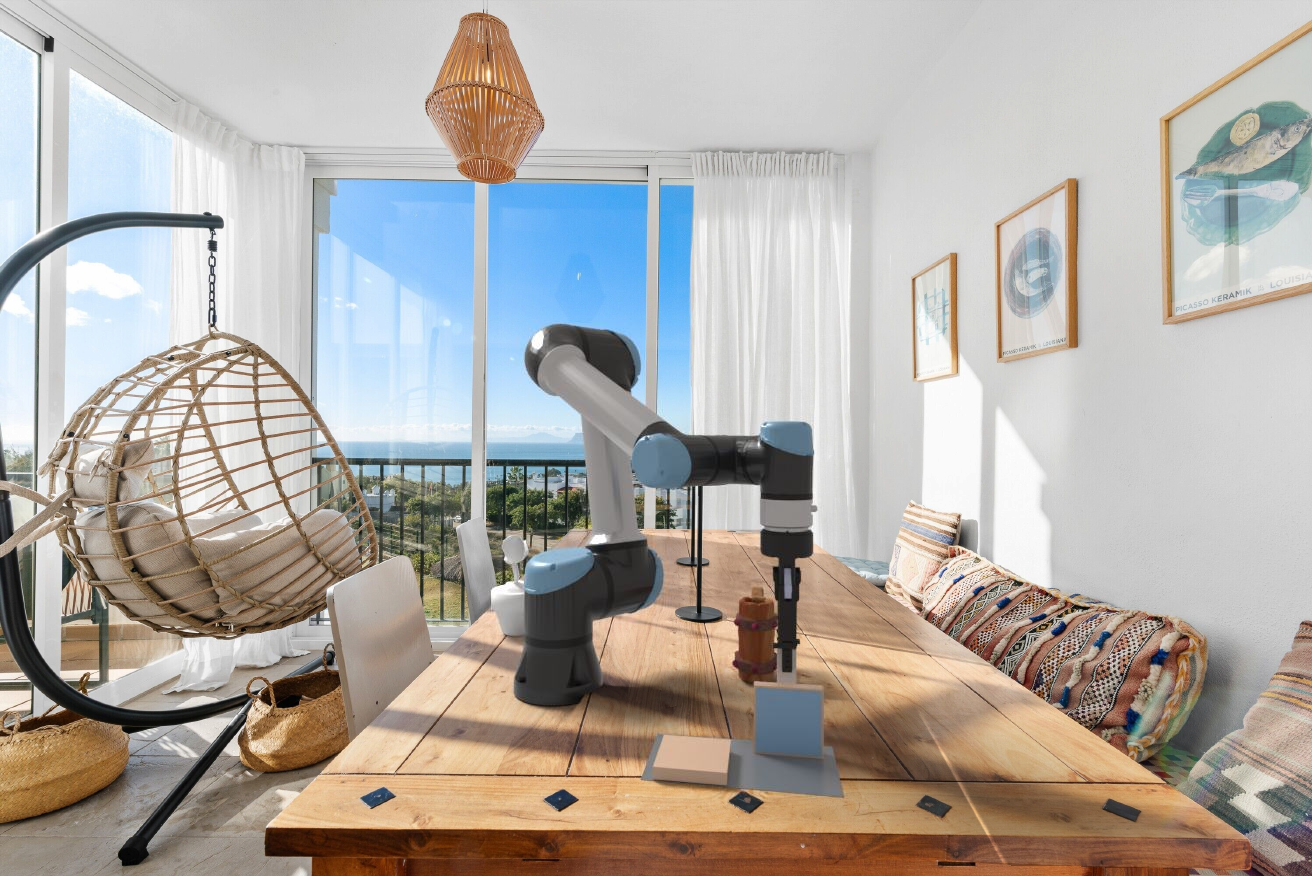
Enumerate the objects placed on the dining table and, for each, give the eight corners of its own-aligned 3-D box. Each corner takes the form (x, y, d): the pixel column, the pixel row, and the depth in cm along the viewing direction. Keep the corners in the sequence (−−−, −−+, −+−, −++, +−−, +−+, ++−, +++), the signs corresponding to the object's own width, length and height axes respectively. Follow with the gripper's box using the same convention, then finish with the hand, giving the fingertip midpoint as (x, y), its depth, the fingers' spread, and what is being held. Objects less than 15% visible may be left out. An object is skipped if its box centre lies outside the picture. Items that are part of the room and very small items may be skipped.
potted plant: (534, 642, 141) (534, 523, 141) (482, 639, 143) (482, 522, 143) (552, 625, 153) (553, 517, 154) (504, 623, 155) (505, 516, 155)
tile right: (753, 753, 88) (753, 685, 88) (754, 748, 90) (754, 681, 90) (823, 759, 86) (823, 689, 86) (822, 753, 88) (822, 685, 88)
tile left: (663, 747, 90) (652, 780, 81) (664, 734, 90) (652, 766, 81) (730, 752, 88) (727, 786, 79) (730, 739, 88) (726, 773, 79)
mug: (778, 690, 114) (778, 602, 114) (730, 686, 115) (731, 599, 116) (780, 662, 128) (780, 584, 128) (737, 659, 130) (737, 582, 130)
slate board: (640, 789, 81) (640, 779, 81) (657, 742, 94) (657, 733, 94) (843, 807, 77) (843, 797, 77) (832, 755, 90) (832, 746, 90)
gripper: (816, 534, 89) (816, 711, 89) (810, 523, 102) (810, 677, 102) (759, 533, 90) (759, 707, 90) (760, 522, 103) (760, 674, 103)
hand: (786, 691), depth 96 cm, fingers closed
